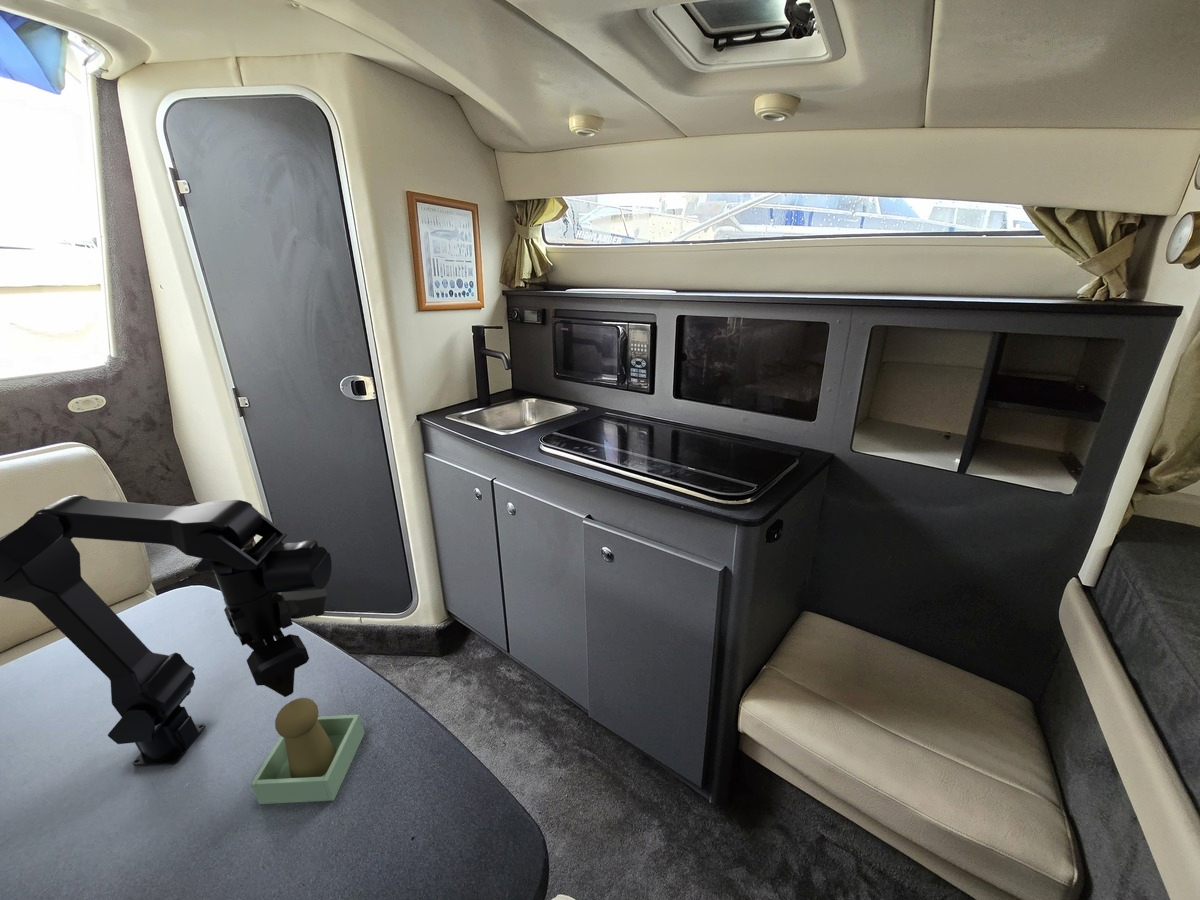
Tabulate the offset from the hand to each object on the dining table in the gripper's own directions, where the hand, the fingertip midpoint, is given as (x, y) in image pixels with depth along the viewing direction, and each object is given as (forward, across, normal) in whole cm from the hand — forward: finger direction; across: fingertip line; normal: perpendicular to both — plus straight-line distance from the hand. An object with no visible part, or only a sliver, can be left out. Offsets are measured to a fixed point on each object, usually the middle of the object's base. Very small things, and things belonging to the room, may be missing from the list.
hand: (279, 676), depth 73 cm
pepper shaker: (+11, -8, 0) cm, 14 cm away
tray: (+12, -8, 0) cm, 14 cm away
